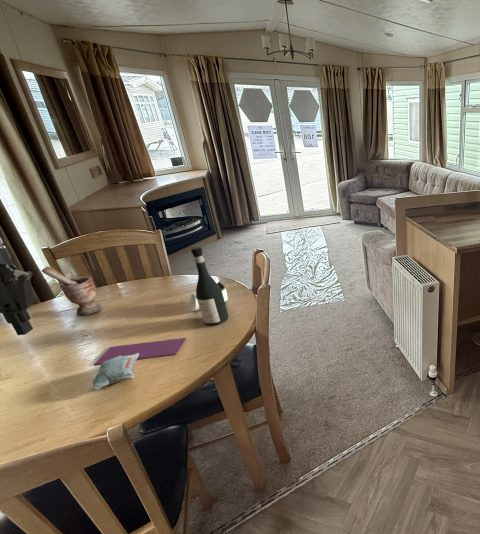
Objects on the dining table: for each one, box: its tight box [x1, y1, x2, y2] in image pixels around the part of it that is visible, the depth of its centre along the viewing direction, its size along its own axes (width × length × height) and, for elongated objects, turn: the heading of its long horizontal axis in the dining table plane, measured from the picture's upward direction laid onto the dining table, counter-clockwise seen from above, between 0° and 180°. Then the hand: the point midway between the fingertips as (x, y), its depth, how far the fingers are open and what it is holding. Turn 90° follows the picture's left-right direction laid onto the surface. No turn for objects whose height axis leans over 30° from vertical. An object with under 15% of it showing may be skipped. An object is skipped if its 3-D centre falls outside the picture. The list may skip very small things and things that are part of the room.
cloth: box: [93, 337, 187, 366], centre depth 112 cm, size 22×9×1 cm, turn 106°
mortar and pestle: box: [41, 266, 103, 316], centre depth 128 cm, size 12×9×20 cm
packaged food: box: [92, 353, 139, 390], centre depth 100 cm, size 9×12×5 cm
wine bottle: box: [190, 246, 229, 326], centre depth 123 cm, size 8×8×30 cm
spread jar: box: [189, 275, 229, 312], centre depth 136 cm, size 12×11×12 cm
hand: (25, 331), depth 88 cm, fingers closed
